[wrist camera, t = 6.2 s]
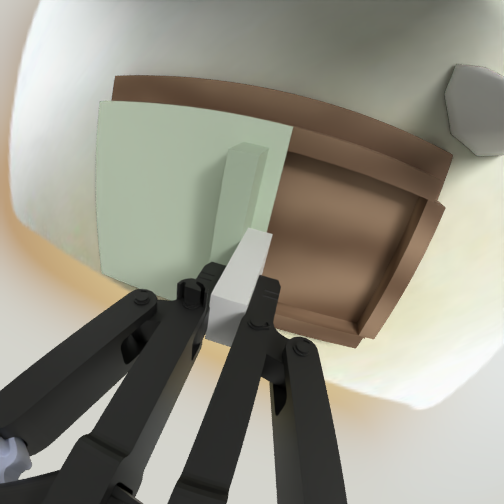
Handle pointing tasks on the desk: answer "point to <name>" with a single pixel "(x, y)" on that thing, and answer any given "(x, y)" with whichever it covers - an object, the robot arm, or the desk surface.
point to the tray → (330, 203)
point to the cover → (180, 188)
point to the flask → (477, 109)
